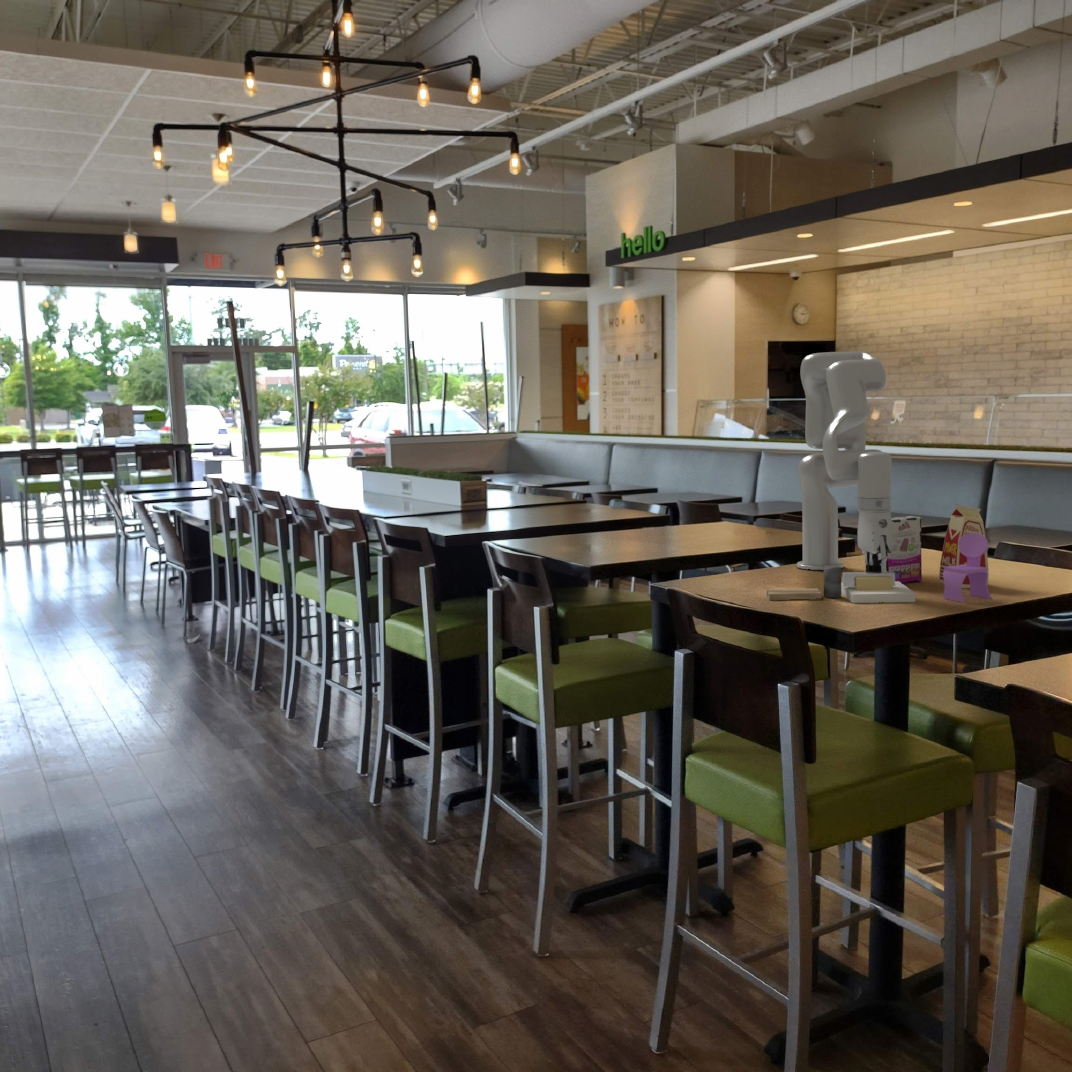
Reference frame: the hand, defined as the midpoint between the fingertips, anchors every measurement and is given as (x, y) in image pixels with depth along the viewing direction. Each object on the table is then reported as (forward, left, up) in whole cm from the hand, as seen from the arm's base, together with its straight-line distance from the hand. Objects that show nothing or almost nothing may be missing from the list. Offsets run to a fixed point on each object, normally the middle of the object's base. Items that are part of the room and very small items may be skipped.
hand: (873, 580), depth 241 cm
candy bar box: (-15, +9, -3) cm, 18 cm away
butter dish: (+3, 0, -3) cm, 4 cm away
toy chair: (+8, +19, -3) cm, 21 cm away
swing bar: (+3, -2, -1) cm, 4 cm away
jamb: (+3, -17, -3) cm, 17 cm away
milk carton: (-11, +24, -3) cm, 27 cm away
